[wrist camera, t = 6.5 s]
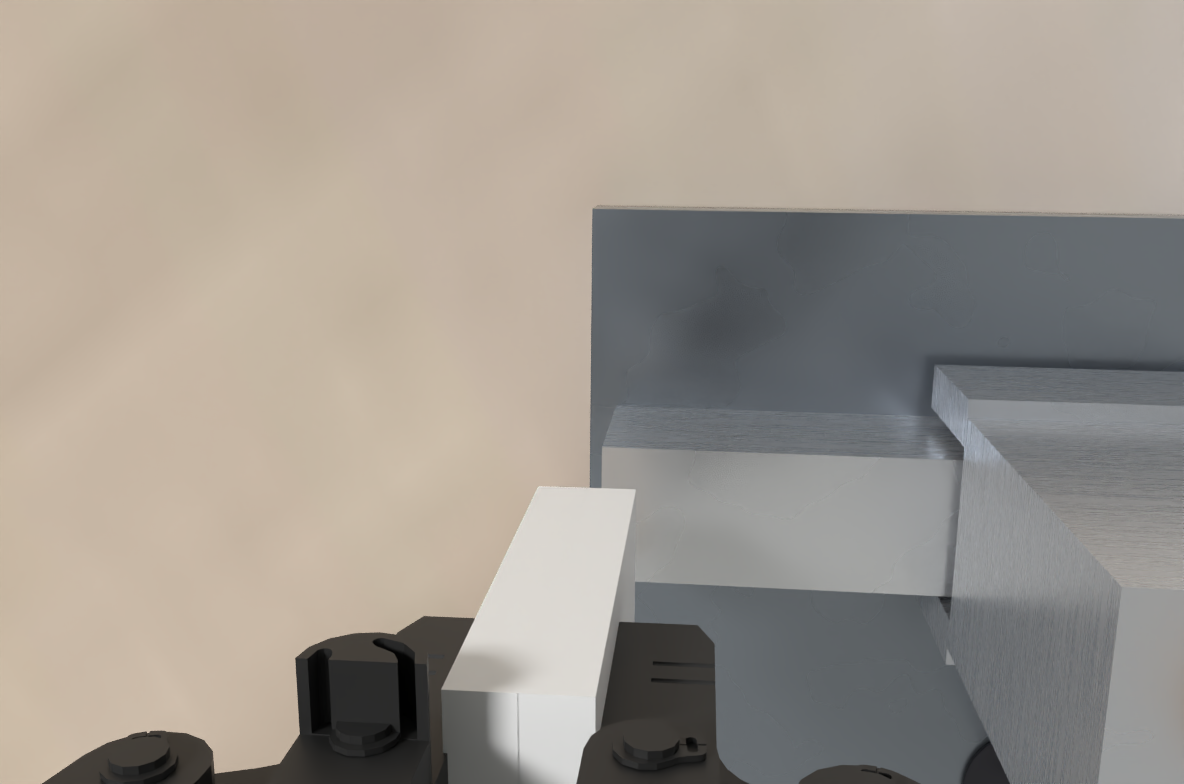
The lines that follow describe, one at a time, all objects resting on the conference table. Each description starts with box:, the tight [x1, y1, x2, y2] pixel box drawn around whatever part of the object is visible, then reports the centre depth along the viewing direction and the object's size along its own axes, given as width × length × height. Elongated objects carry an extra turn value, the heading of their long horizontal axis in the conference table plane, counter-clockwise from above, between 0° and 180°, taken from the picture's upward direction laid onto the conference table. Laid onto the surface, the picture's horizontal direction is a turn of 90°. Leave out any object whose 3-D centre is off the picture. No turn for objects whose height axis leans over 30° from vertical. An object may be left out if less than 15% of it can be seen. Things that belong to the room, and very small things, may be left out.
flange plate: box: [590, 206, 1184, 784], centre depth 21 cm, size 22×15×4 cm
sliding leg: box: [916, 365, 1184, 784], centre depth 16 cm, size 5×9×11 cm, turn 0°
